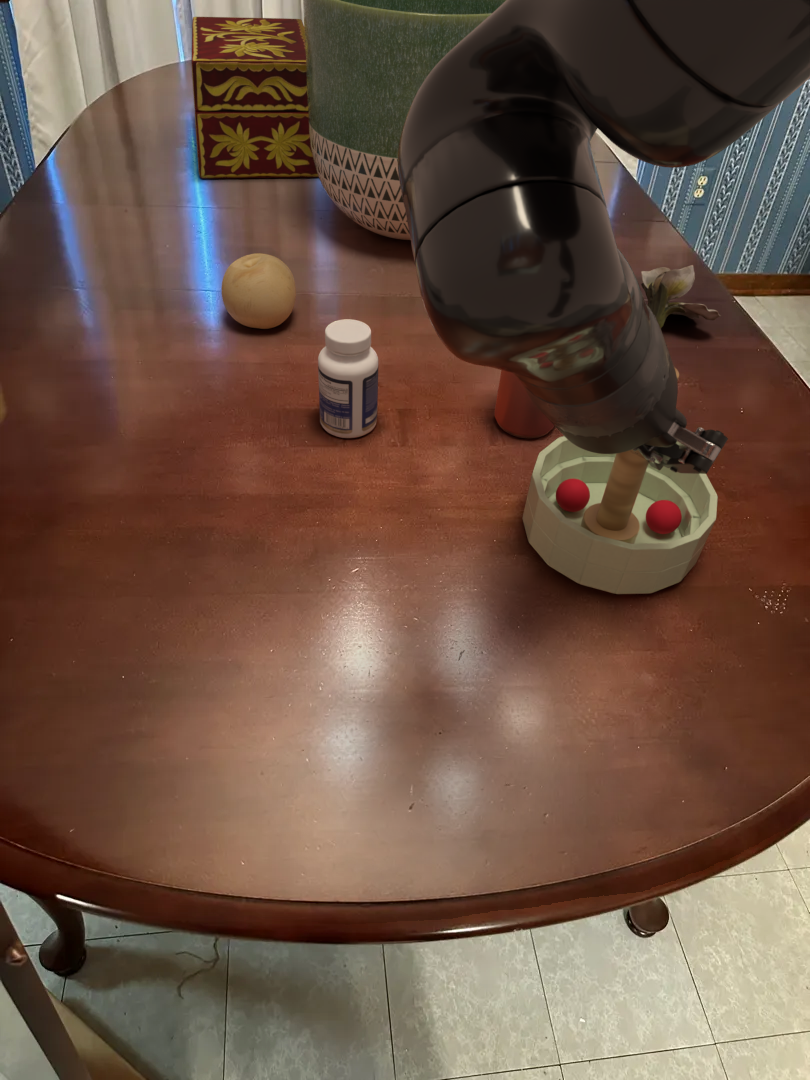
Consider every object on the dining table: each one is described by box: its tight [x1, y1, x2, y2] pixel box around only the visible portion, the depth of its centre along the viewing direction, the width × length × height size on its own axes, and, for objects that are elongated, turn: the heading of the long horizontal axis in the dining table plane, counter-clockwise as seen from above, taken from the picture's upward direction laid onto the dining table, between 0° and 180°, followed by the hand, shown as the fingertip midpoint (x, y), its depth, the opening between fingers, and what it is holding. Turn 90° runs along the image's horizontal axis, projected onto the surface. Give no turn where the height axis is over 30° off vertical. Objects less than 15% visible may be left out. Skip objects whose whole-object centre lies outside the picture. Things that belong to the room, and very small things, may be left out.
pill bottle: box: [317, 318, 379, 439], centre depth 71 cm, size 5×5×10 cm
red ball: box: [556, 478, 590, 512], centre depth 66 cm, size 3×3×3 cm
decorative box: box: [190, 16, 319, 180], centre depth 120 cm, size 28×19×15 cm
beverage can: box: [493, 370, 555, 440], centre depth 71 cm, size 6×6×15 cm
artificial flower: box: [640, 264, 722, 329], centre depth 87 cm, size 9×22×10 cm, turn 97°
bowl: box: [522, 435, 719, 595], centre depth 63 cm, size 14×14×6 cm
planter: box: [302, 0, 506, 241], centre depth 97 cm, size 27×27×27 cm
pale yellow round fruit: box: [220, 252, 297, 330], centre depth 85 cm, size 8×8×8 cm
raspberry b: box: [646, 500, 682, 534], centre depth 64 cm, size 3×3×3 cm
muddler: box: [581, 366, 680, 544], centre depth 57 cm, size 4×4×15 cm
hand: (645, 447), depth 59 cm, fingers closed on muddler, 2 cm apart
